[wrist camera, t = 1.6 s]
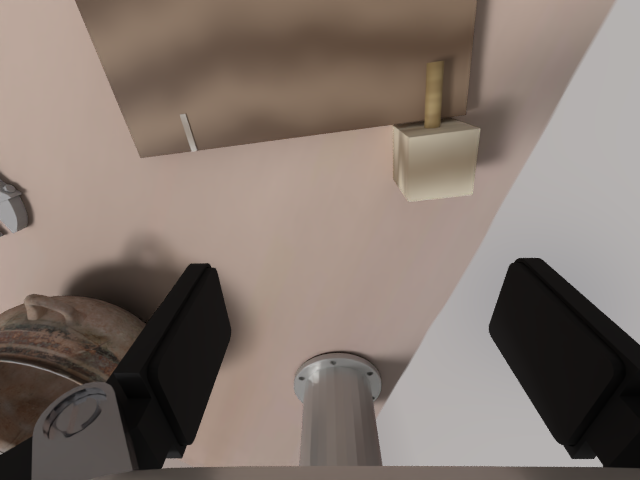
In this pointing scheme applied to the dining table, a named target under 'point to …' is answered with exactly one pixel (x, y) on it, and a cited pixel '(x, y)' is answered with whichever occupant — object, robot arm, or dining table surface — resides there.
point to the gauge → (435, 149)
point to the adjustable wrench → (12, 208)
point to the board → (275, 66)
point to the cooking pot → (56, 355)
